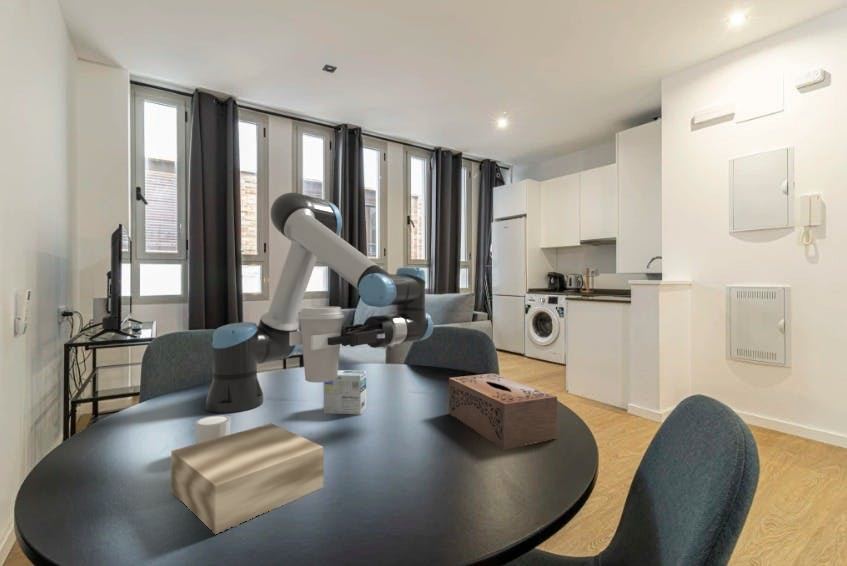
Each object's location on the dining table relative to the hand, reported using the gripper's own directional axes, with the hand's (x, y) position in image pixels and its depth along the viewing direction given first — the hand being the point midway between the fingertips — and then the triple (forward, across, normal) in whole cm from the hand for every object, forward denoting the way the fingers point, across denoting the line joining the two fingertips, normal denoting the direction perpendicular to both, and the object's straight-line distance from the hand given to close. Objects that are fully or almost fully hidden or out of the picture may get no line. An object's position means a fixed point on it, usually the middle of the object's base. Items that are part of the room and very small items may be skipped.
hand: (301, 340), depth 81 cm
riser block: (+12, -3, -24) cm, 27 cm away
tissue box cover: (-43, -20, -24) cm, 54 cm away
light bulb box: (-26, +18, -24) cm, 40 cm away
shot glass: (+10, +17, -24) cm, 31 cm away
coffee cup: (-5, 0, -9) cm, 10 cm away
